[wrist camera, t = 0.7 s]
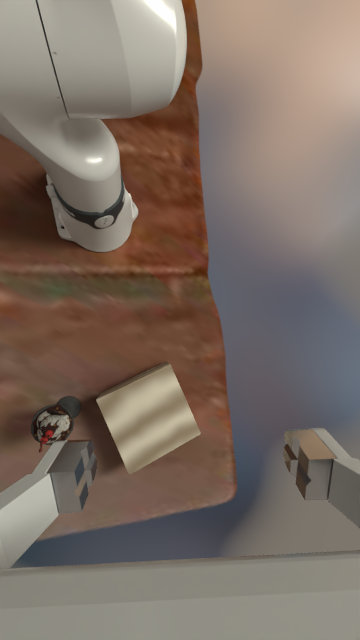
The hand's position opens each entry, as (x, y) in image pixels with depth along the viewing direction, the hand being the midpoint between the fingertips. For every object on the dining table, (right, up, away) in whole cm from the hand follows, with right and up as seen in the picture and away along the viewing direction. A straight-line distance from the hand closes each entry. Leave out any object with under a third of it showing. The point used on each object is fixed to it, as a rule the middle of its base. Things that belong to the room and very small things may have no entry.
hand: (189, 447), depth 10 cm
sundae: (-24, -14, +40) cm, 48 cm away
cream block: (-8, -15, +43) cm, 46 cm away
